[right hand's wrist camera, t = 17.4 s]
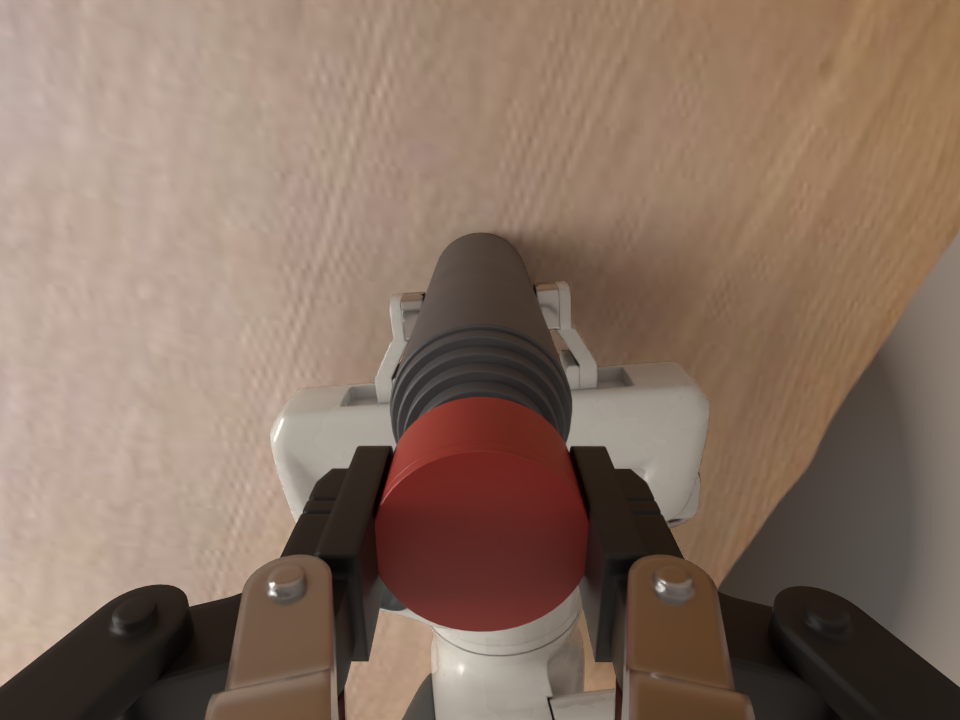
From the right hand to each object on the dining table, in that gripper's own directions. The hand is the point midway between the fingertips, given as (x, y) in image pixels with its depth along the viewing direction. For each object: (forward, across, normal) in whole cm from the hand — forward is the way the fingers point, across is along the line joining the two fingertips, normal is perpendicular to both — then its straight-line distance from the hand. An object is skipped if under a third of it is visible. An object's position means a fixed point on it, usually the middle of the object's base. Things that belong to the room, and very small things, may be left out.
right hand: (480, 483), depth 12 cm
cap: (-2, 0, 0) cm, 2 cm away
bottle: (+20, 0, 0) cm, 20 cm away
